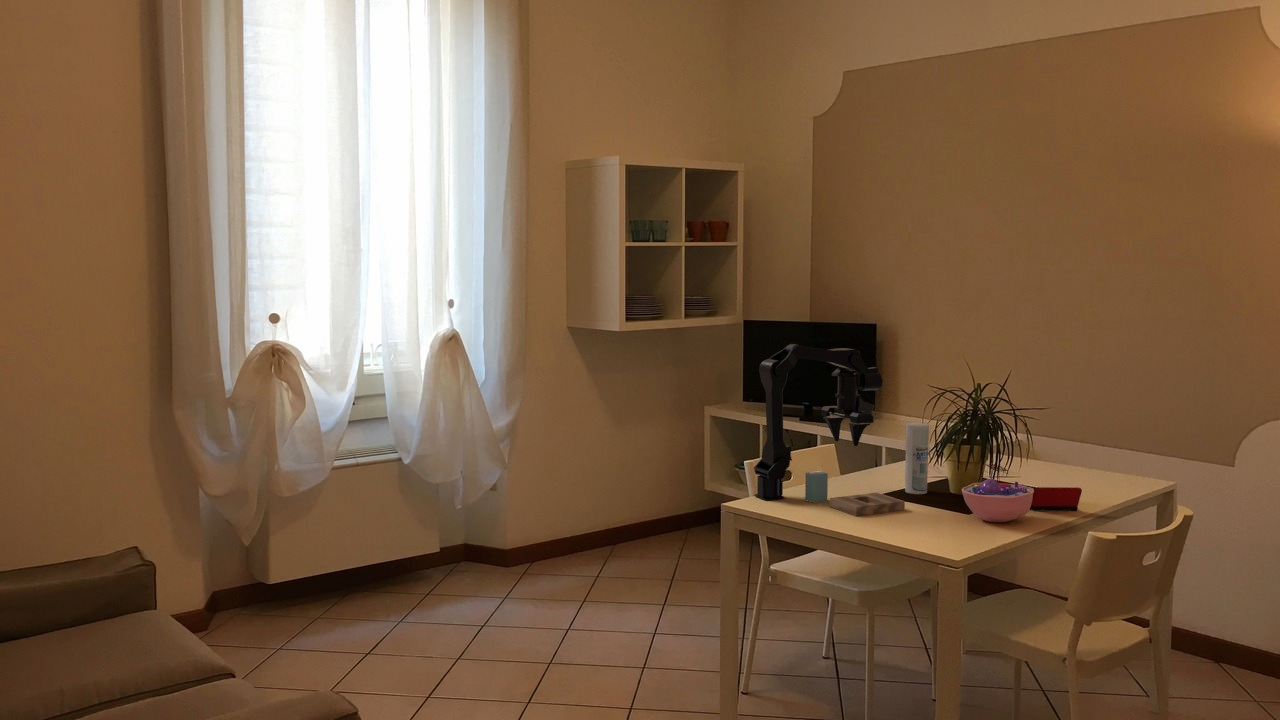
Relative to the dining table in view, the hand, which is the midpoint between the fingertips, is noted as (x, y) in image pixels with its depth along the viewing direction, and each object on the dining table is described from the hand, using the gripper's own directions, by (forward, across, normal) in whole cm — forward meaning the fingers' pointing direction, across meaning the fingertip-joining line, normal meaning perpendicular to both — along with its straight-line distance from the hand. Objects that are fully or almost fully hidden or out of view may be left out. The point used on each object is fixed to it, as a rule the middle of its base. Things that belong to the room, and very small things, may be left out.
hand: (846, 443), depth 299 cm
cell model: (+14, -47, -14) cm, 51 cm away
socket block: (+14, -22, +9) cm, 27 cm away
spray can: (+14, -11, -18) cm, 25 cm away
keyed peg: (+14, -8, +16) cm, 22 cm away
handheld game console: (+14, -44, -36) cm, 59 cm away
